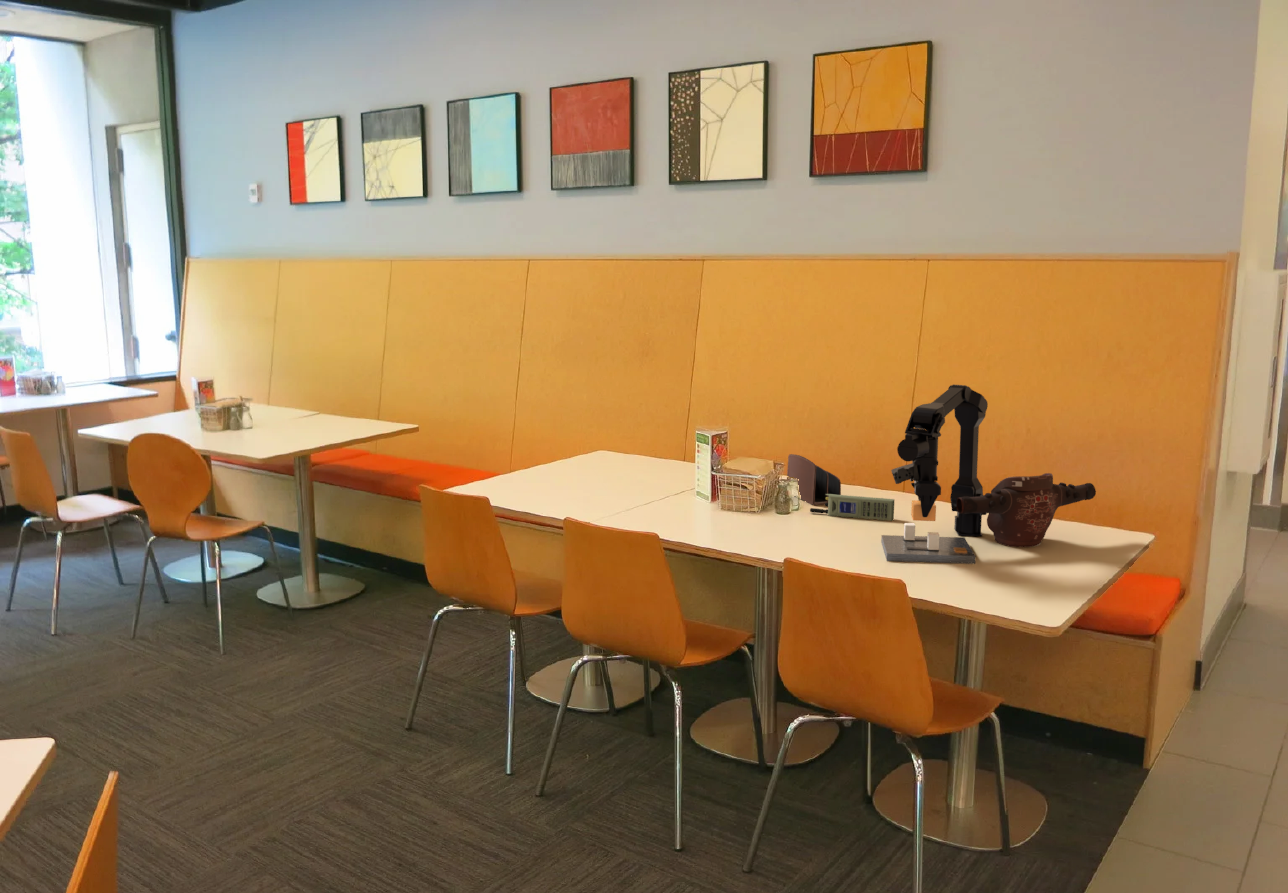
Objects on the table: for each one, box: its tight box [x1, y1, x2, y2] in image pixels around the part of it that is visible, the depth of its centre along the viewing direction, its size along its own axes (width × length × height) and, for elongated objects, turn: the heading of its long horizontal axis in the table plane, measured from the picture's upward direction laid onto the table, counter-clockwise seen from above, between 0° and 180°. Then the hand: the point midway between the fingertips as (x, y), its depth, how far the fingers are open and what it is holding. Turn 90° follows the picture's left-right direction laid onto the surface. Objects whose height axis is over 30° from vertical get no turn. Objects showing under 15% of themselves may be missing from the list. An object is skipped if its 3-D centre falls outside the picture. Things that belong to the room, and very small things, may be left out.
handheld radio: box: [809, 494, 895, 522], centre depth 316 cm, size 7×3×25 cm
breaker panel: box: [880, 534, 976, 565], centre depth 277 cm, size 22×18×2 cm
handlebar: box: [956, 472, 1097, 548], centre depth 283 cm, size 45×13×20 cm, turn 111°
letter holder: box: [786, 453, 842, 506], centre depth 340 cm, size 10×20×14 cm, turn 17°
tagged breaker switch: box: [927, 531, 940, 550], centre depth 273 cm, size 3×3×4 cm
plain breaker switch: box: [903, 522, 916, 540], centre depth 282 cm, size 3×3×4 cm
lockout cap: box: [910, 500, 937, 522], centre depth 273 cm, size 6×6×4 cm
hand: (923, 514), depth 274 cm, fingers closed on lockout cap, 6 cm apart
